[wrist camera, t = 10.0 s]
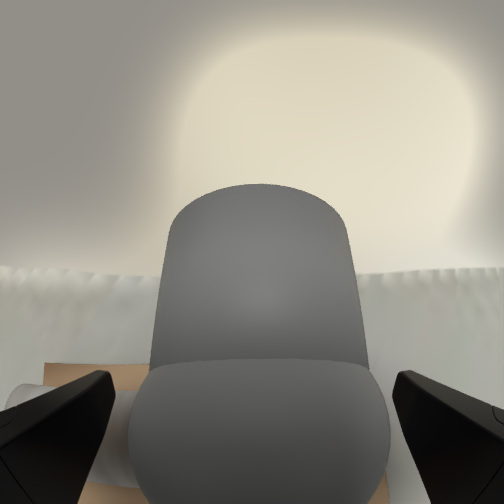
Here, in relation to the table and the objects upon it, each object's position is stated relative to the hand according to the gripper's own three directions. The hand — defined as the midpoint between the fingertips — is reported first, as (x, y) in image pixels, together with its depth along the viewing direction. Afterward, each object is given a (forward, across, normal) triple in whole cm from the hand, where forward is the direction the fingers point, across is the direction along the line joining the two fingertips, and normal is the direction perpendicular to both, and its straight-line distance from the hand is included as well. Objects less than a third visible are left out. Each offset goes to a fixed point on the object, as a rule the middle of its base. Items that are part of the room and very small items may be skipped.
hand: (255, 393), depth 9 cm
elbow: (+5, 0, +7) cm, 8 cm away
